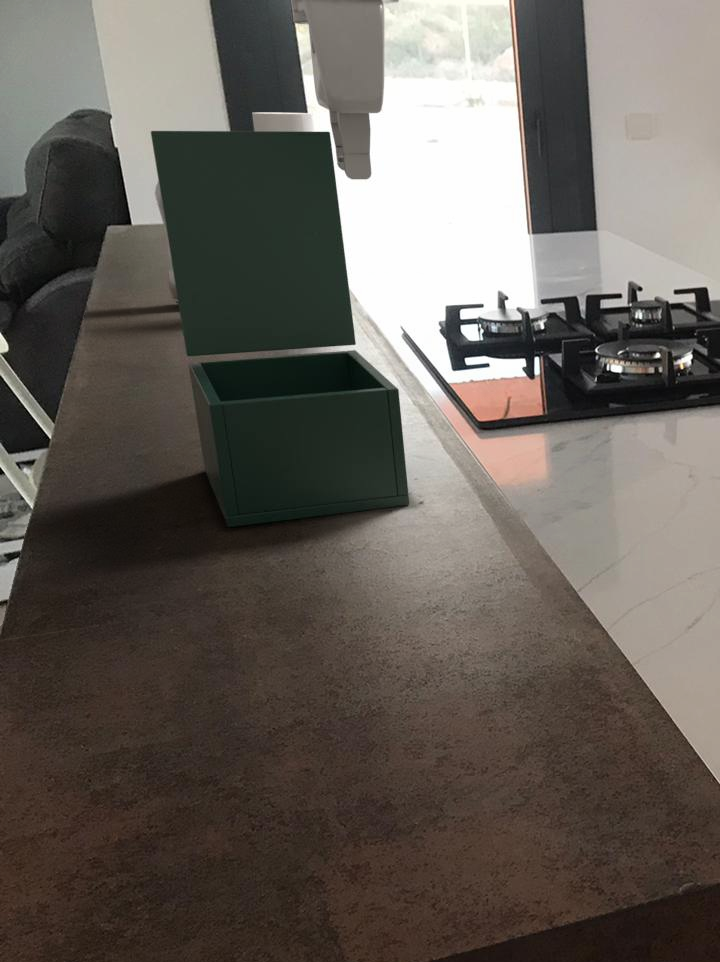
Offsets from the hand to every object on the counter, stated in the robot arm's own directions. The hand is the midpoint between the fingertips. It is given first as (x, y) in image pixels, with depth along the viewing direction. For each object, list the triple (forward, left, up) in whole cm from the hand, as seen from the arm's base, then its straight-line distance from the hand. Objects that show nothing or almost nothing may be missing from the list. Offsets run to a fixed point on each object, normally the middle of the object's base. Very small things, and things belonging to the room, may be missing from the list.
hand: (354, 174), depth 98 cm
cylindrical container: (-65, +41, -23) cm, 80 cm away
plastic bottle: (-80, +35, -23) cm, 90 cm away
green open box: (+1, -9, -23) cm, 24 cm away
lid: (-6, -5, -5) cm, 9 cm away
